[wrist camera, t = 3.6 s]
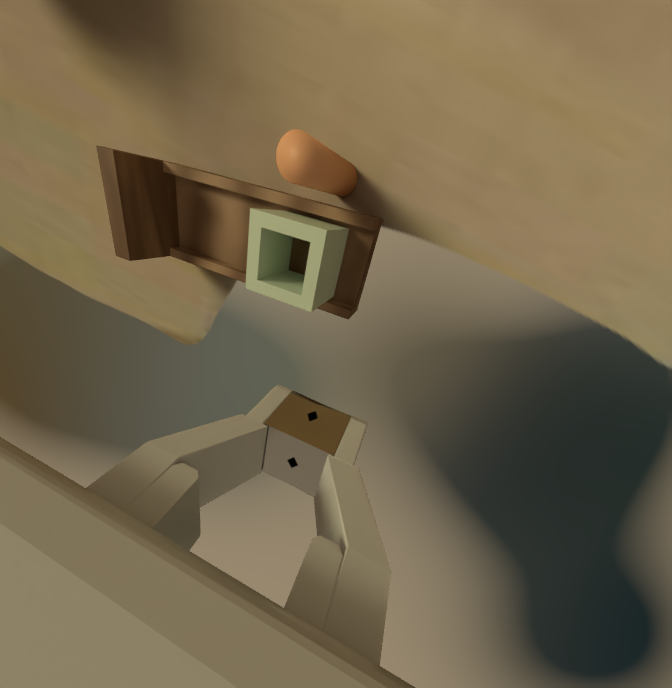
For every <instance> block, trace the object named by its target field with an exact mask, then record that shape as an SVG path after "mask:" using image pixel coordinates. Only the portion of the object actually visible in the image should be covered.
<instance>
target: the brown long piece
mask: <svg viewBox="0 0 672 688" xmlns="http://www.w3.org/2000/svg"><path fill="white" fill-rule="evenodd" d="M96 146H97V145H96ZM97 152H98V158H99V163H100V169H101V174H102V180H103V186H104V191H105V197H106V203H107V208H108V214H109V219H110V225H111V231H112V236H113V242H114V247H115V253H116V256H118V257H121V258H124V259H126V260H129V261H133V260H141V259H149V258H157V257H165V256H172V257H175V258H178V259H180V260H183V261H186V262H189V263H192V264H194V265H197V266H200V267H203V268H206V269H208V270H211V271H214V272H217V273H220V274H222V275H225V276H228V277H231V278H234V279H236V280H239V281H242V282H245V283H246V269H247V252H248V235H249V218H250V208H257V209H270V210H283V211H289V212H292V213H296V214H299V215H303V216H306V217H310V218H313V219H317V220H320V221H324V222H327V223H331V224H334V225H338V226H342V227H345V228H349V233H348V237H347V241H346V245H345V250H344V254H343V258H342V263H341V267H340V271H339V276H338V280H337V284H336V289H335V293H334V296H333V297H332V298H331V299H329V300H328V301H326V302H325V303H323V304H322V305H321V306H319V307H318V309H321V310H323V311H326V312H329V313H332V314H335V315H337V316H340V317H343V318H346V319H349V318H350V317H351V316H352V315H353V314H354V313H355V312H356V311H357V308H358V304H359V301H360V298H361V294H362V290H363V287H364V283H365V280H366V277H367V273H368V269H369V266H370V262H371V259H372V255H373V252H374V248H375V245H376V241H377V238H378V234H379V231H380V227H381V224H382V220H383V219H381V218H378V217H374V216H370V215H366V214H363V213H359V212H355V211H351V210H348V209H344V208H340V207H337V206H333V205H329V204H325V203H322V202H318V201H314V200H311V199H307V198H303V197H299V196H296V195H292V194H288V193H284V192H281V191H277V190H273V189H270V188H266V187H262V186H258V185H255V184H251V183H247V182H243V181H240V180H236V179H232V178H229V177H225V176H221V175H217V174H214V173H210V172H206V171H203V170H199V169H195V168H191V167H188V166H184V165H180V164H176V163H172V162H168V161H163V160H159V159H154V158H150V157H146V156H141V155H137V154H132V153H128V152H123V151H119V150H114V149H110V148H106V147H101V146H97ZM309 248H310V242H308V241H305V240H302V239H299V238H295V237H293V242H292V250H291V257H290V264H289V270H290V271H293V272H296V273H299V274H302V275H305V271H306V265H307V259H308V254H309Z"/></svg>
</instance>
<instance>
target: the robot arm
mask: <svg viewBox="0 0 672 688" xmlns="http://www.w3.org/2000/svg"><path fill="white" fill-rule="evenodd" d="M366 428H367V422H366V421H363V420H361V419H358V418H356V417H353V416H352V417H351V416H350V415H348V414H345V413H343V412H340V411H338V410H336V409H333V408H331V407H328V406H326V405H324V404H321V403H319V402H317V401H314V400H312V399H310V398H308V397H306V396H304V395H301V394H299V393H297V392H295V391H292V390H290V389H287V388H285V387H283V386H281V385H278V386H275V387H274V388H273V389H272V390H271V391H270V392H269V393H268V394H267V395H266V396H265V397H264V398H263V399H262V400H261V401H260V402H259V403H258V404H257V405H256V406H255V407H254V408H253V409H252V410H251V412H249V413H248V415H246V416H245V415H242V414H240V415H237V416H233V417H230V418H226V419H223V420H220V421H216V422H213V423H209V424H206V425H202V426H199V427H196V428H193V429H189V430H186V431H182V432H179V433H175V434H172V435H168V436H165V437H162V438H158V439H155V440H151V441H148V442H146V443H145V444H144V445H142V446H141V447H140V448H138V449H137V450H136V451H134V452H133V453H132V454H130V455H129V456H128V457H127V458H125V459H124V460H123V461H121V462H120V463H119V464H117V465H116V466H114V467H113V468H112V469H110V470H109V471H108V472H107V473H105V474H104V475H102V476H101V477H100V478H99V479H97V480H96V481H95V482H93V483H92V484H91V485H89V486H88V487H87V488H84V487H83V486H81V485H79V484H78V483H76V482H74V481H73V480H71V479H69V478H68V477H66V476H64V475H63V474H61V473H59V472H58V471H56V470H54V469H53V468H51V467H49V466H48V465H46V464H45V463H43V462H41V461H39V460H38V459H36V458H35V457H33V456H31V455H29V454H28V453H26V452H25V451H23V450H21V449H19V448H18V447H16V446H15V445H13V444H11V443H10V442H8V441H6V440H5V439H3V438H1V437H0V688H415V687H414V686H412V685H410V684H409V683H407V682H405V681H404V680H402V679H400V678H399V677H397V676H395V675H393V674H392V673H391V672H389V671H387V670H385V669H384V668H382V667H381V666H380V658H381V650H382V642H383V634H384V626H385V617H386V610H387V602H388V594H389V586H390V577H391V569H390V566H389V563H388V560H387V556H386V553H385V550H384V546H383V543H382V540H381V537H380V534H379V531H378V527H377V524H376V521H375V518H374V515H373V512H372V508H371V505H370V502H369V499H368V496H367V493H366V489H365V486H364V483H363V480H362V477H361V473H360V471H359V468H357V467H355V466H354V464H355V461H356V458H357V455H358V452H359V449H360V446H361V443H362V440H363V437H364V434H365V431H366ZM261 471H263V472H265V473H267V474H269V475H271V476H274V477H276V478H278V479H280V480H282V481H285V482H286V483H289V484H290V485H292V486H294V487H296V488H298V489H300V490H302V491H303V492H305V493H307V494H309V495H311V496H313V497H314V504H315V516H316V528H317V537H315V538H313V539H312V540H311V543H310V545H309V548H308V550H307V553H306V555H305V558H304V560H303V563H302V565H301V567H300V570H299V573H298V575H297V577H296V580H295V582H294V585H293V587H292V590H291V592H290V595H289V597H288V599H287V602H286V605H285V607H284V608H283V607H281V606H280V605H278V604H276V603H275V602H273V601H271V600H270V599H268V598H266V597H265V596H263V595H261V594H260V593H258V592H256V591H255V590H253V589H251V588H250V587H248V586H246V585H245V584H243V583H242V582H240V581H238V580H237V579H235V578H233V577H232V576H230V575H228V574H227V573H225V572H223V571H221V570H220V569H218V568H217V567H215V566H213V565H212V564H210V563H208V562H207V561H205V560H203V559H202V558H200V557H199V556H197V555H195V554H193V553H192V552H190V551H189V550H190V549H191V547H192V546H193V545H194V543H195V542H196V541H197V539H198V538H199V537H200V507H202V506H203V505H205V504H207V503H209V502H210V501H212V500H214V499H216V498H218V497H219V496H221V495H223V494H225V493H226V492H228V491H230V490H232V489H233V488H235V487H237V486H238V485H240V484H242V483H244V482H246V481H247V480H249V479H251V478H253V477H254V476H256V475H258V474H260V473H261Z"/></svg>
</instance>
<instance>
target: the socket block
mask: <svg viewBox="0 0 672 688" xmlns="http://www.w3.org/2000/svg"><path fill="white" fill-rule="evenodd" d="M348 233H349V228H345V227H342V226H338V225H334V224H331V223H327V222H324V221H320V220H317V219H313V218H310V217H306V216H303V215H299V214H296V213H292V212H289V211H283V210H270V209H257V208H250V218H249V235H248V252H247V269H246V287H245V288H246V289H248V290H251V291H254V292H257V293H260V294H262V295H265V296H268V297H271V298H273V299H276V300H279V301H282V302H284V303H287V304H290V305H293V306H295V307H298V308H301V309H304V310H307V311H309V312H312V311H314V310H315V309H316V308H318V307H319V306H321V305H322V304H323V303H325V302H326V301H328V300H329V299H331V298H332V297H333V296H334V293H335V289H336V284H337V280H338V276H339V271H340V267H341V263H342V258H343V254H344V250H345V245H346V241H347V237H348ZM293 237H295V238H299V239H302V240H305V241H308V242H310V248H309V254H308V259H307V265H306V271H305V275H302V274H299V273H296V272H293V271H290V270H289V264H290V257H291V250H292V242H293Z"/></svg>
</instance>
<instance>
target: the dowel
mask: <svg viewBox="0 0 672 688" xmlns="http://www.w3.org/2000/svg"><path fill="white" fill-rule="evenodd" d="M276 161H277V166H278V169H279V171H280V173H281V175H282V176H283V177H284V178H285V179H286V180H287V181H289V182H290V183H293V184H297V185H301V186H305V187H308V188H312V189H316V190H319V191H323V192H327V193H331V194H334V195H338V196H346V195H348V194H350V193H351V192H352V191H353V190H354V188H355V186H356V183H357V172H356V169H355V167H354V166H353V165H352V164H351V163H350V162H348V161H347V160H345V159H344V158H342V157H341V156H340V155H338V154H337V153H335V152H334V151H332V150H331V149H329V148H328V147H326V146H325V145H323V144H322V143H320V142H319V141H317V140H316V139H315V138H313V137H312V136H310V135H309V134H307V133H306V132H304V131H302V130H297V129H295V130H291V131H289V132H287V133H286V134H285V135H284V136H283V137H282V138H281V140H280V142H279V144H278V147H277V152H276Z"/></svg>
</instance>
